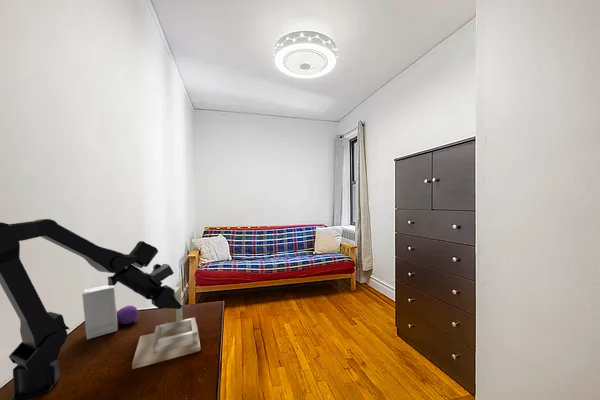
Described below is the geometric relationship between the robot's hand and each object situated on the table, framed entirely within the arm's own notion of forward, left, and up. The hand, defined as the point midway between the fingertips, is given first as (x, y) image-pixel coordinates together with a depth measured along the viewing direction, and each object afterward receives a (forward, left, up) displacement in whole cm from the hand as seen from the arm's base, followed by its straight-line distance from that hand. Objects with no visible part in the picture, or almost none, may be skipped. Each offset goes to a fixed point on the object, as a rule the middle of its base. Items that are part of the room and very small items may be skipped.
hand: (175, 304), depth 89 cm
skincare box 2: (-1, 0, -7) cm, 7 cm away
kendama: (-20, +17, -7) cm, 27 cm away
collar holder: (-2, -13, -7) cm, 15 cm away
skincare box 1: (-22, +7, -7) cm, 25 cm away
